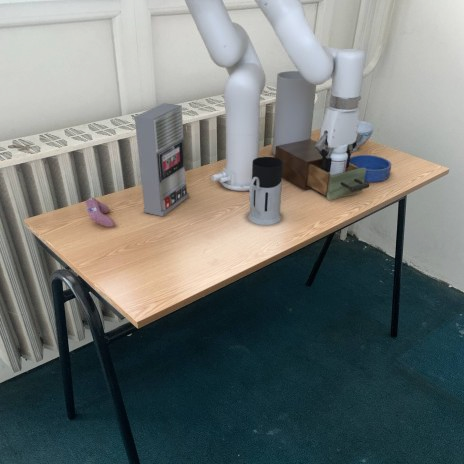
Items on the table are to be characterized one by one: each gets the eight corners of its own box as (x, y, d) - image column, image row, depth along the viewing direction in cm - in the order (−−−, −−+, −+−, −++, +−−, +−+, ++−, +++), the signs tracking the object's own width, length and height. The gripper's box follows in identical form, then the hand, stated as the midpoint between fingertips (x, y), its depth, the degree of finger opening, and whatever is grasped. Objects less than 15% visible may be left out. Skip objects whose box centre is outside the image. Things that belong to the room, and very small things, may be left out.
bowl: (366, 186, 146) (368, 173, 143) (336, 171, 155) (338, 159, 152) (397, 177, 151) (400, 165, 149) (367, 164, 160) (369, 152, 158)
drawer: (375, 198, 137) (379, 174, 133) (341, 207, 132) (345, 183, 128) (329, 174, 150) (332, 153, 146) (297, 182, 145) (299, 160, 141)
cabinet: (339, 181, 148) (343, 153, 143) (304, 190, 143) (307, 161, 138) (307, 165, 159) (310, 138, 154) (273, 173, 153) (275, 145, 148)
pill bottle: (330, 176, 144) (335, 138, 138) (347, 182, 141) (354, 143, 134) (318, 182, 141) (322, 143, 134) (336, 188, 138) (341, 148, 131)
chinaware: (353, 158, 164) (356, 135, 160) (318, 147, 173) (321, 125, 168) (378, 148, 173) (382, 126, 168) (344, 138, 181) (347, 116, 177)
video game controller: (96, 218, 130) (79, 198, 126) (110, 209, 130) (94, 188, 126) (101, 235, 123) (84, 214, 118) (116, 225, 123) (100, 204, 118)
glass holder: (286, 214, 130) (290, 159, 121) (265, 237, 120) (268, 179, 111) (256, 207, 133) (258, 153, 124) (233, 229, 123) (234, 172, 114)
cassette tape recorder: (163, 217, 128) (155, 120, 113) (144, 213, 130) (133, 116, 115) (189, 197, 138) (184, 105, 123) (170, 193, 140) (164, 102, 125)
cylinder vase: (300, 146, 173) (308, 70, 158) (314, 158, 164) (323, 78, 149) (267, 149, 171) (271, 72, 155) (279, 162, 161) (285, 80, 146)
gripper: (358, 95, 134) (348, 159, 145) (309, 103, 127) (302, 169, 137) (378, 101, 129) (366, 167, 140) (327, 110, 122) (319, 178, 132)
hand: (334, 167), depth 138 cm, fingers closed on pill bottle, 6 cm apart
